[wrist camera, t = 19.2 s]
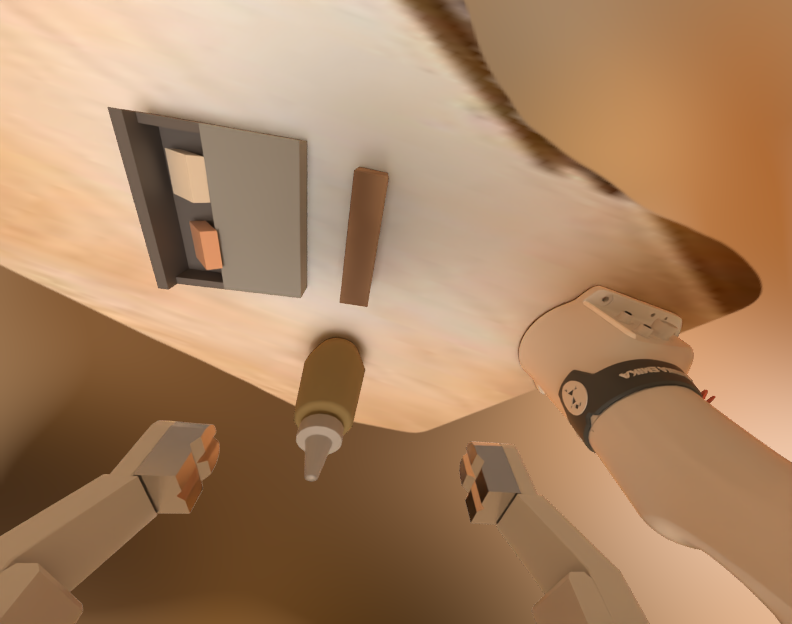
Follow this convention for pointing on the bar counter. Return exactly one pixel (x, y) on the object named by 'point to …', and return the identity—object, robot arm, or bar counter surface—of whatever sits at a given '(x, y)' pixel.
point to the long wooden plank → (363, 234)
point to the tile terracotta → (206, 244)
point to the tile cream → (188, 175)
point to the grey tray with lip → (220, 203)
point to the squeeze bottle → (327, 401)
